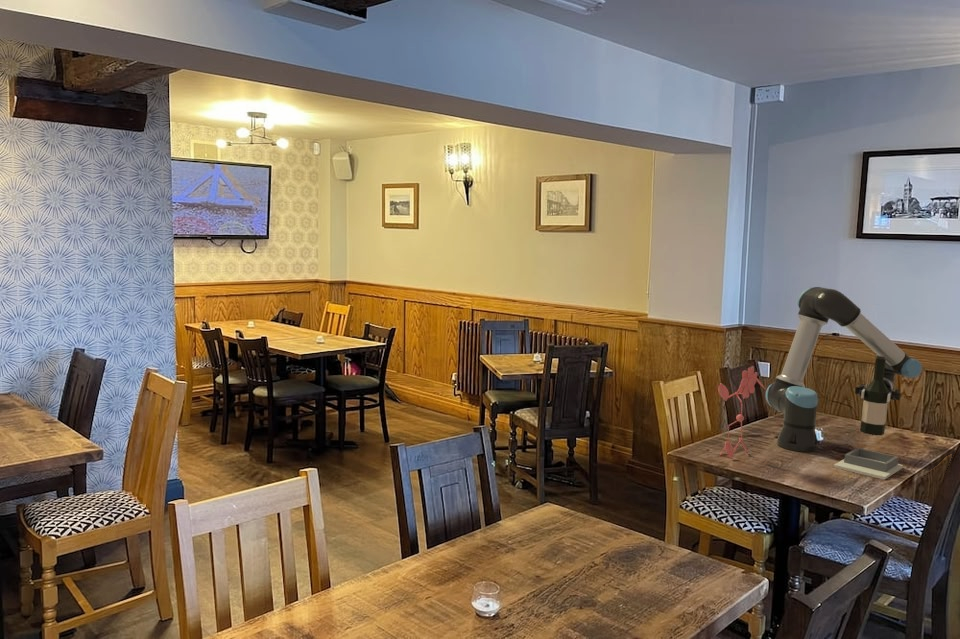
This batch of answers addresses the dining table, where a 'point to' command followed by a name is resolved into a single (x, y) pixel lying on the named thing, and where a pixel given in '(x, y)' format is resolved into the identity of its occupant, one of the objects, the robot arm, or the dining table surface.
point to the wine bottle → (875, 402)
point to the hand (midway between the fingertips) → (875, 396)
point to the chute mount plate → (870, 463)
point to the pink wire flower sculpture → (747, 388)
